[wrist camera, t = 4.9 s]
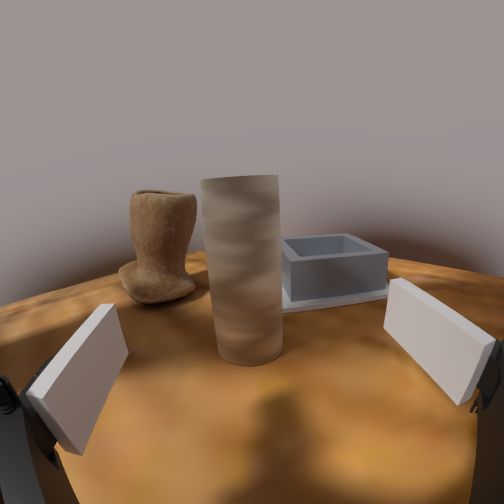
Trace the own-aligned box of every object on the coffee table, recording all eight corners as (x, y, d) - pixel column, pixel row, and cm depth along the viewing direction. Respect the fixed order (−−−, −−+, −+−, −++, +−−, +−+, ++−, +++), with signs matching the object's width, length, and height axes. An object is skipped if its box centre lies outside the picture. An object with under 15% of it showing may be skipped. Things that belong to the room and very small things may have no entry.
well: (281, 313, 30) (280, 266, 29) (263, 270, 46) (261, 237, 44) (399, 296, 32) (404, 254, 30) (351, 262, 47) (352, 231, 46)
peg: (217, 368, 21) (195, 179, 17) (218, 333, 27) (203, 180, 23) (288, 362, 22) (285, 174, 18) (276, 327, 27) (271, 176, 24)
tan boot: (218, 295, 37) (208, 182, 33) (133, 317, 31) (113, 193, 27) (182, 268, 49) (173, 186, 45) (119, 282, 43) (107, 195, 39)
